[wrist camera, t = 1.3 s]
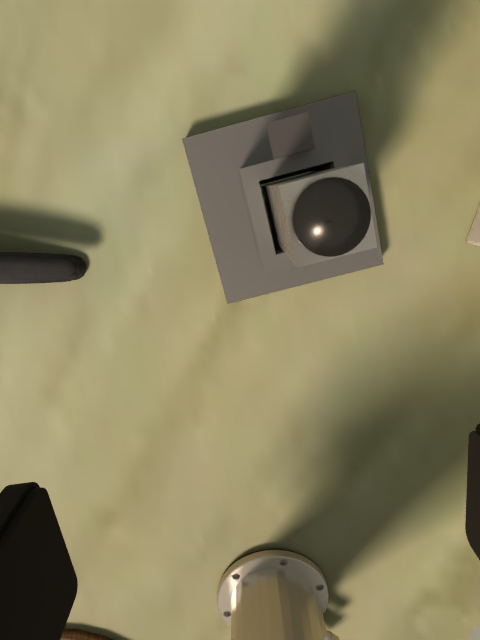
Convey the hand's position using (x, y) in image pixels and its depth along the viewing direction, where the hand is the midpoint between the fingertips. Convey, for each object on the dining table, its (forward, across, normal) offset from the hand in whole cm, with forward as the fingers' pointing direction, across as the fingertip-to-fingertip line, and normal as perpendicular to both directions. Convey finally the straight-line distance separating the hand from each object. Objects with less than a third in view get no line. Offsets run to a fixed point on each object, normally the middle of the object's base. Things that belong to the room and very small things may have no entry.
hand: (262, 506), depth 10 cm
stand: (+31, -5, -4) cm, 31 cm away
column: (+29, -5, -4) cm, 30 cm away
